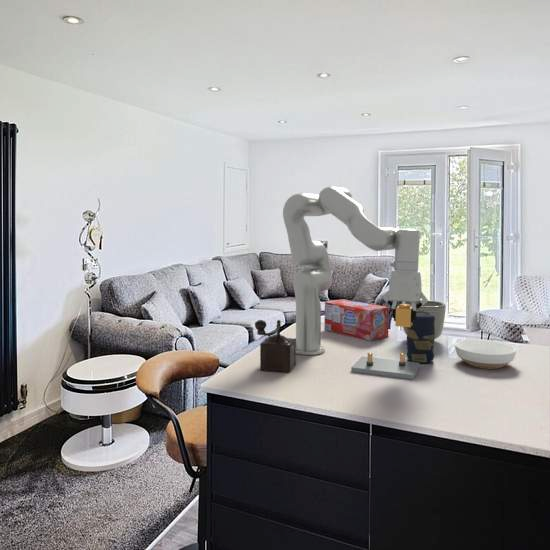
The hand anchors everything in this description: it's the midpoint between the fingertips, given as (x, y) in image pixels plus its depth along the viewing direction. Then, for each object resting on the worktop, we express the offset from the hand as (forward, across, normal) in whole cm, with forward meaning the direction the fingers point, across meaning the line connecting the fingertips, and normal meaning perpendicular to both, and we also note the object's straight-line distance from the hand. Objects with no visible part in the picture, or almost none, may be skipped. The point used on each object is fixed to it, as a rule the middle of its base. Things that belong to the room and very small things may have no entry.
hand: (404, 320), depth 160 cm
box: (+18, -28, +44) cm, 55 cm away
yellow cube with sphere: (+2, 0, 0) cm, 2 cm away
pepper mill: (+18, -39, -17) cm, 46 cm away
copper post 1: (+17, -10, -4) cm, 20 cm away
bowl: (+17, +25, +18) cm, 35 cm away
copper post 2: (+17, 0, 0) cm, 17 cm away
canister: (+17, +4, +13) cm, 22 cm away
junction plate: (+17, -5, -2) cm, 18 cm away
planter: (+17, +1, +42) cm, 45 cm away
